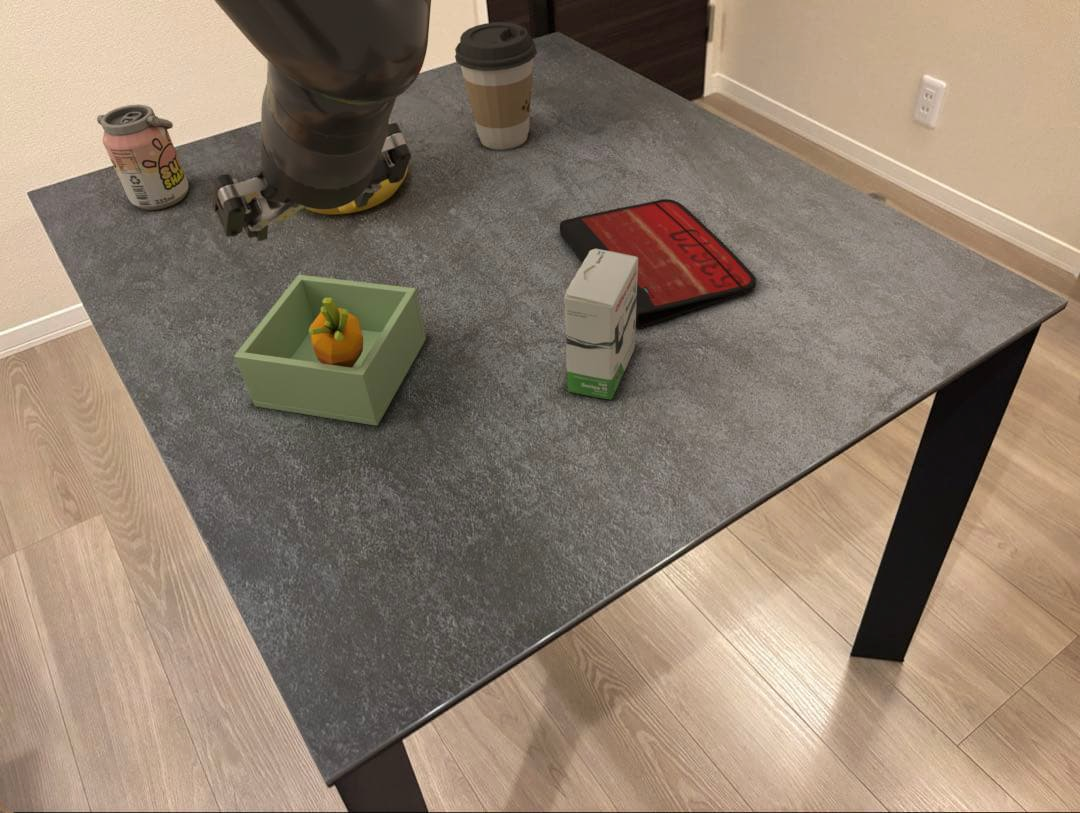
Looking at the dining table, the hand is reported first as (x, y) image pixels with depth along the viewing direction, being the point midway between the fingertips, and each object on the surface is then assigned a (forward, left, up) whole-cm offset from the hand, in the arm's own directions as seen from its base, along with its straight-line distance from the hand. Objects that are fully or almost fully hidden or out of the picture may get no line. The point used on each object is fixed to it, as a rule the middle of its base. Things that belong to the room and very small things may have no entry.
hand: (307, 212), depth 68 cm
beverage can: (+12, +56, -22) cm, 61 cm away
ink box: (+18, -16, -22) cm, 33 cm away
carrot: (+2, +6, -21) cm, 22 cm away
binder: (+37, -10, -22) cm, 45 cm away
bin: (+2, +6, -22) cm, 23 cm away
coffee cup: (+51, +26, -22) cm, 62 cm away
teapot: (+29, +36, -22) cm, 51 cm away
